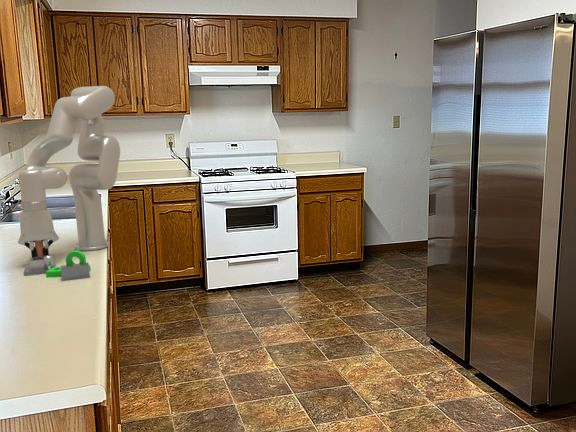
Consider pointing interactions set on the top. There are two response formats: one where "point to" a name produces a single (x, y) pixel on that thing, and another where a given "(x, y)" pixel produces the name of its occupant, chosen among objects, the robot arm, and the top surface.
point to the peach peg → (39, 248)
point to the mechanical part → (67, 263)
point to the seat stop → (75, 271)
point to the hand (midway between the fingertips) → (40, 259)
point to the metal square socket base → (39, 265)
